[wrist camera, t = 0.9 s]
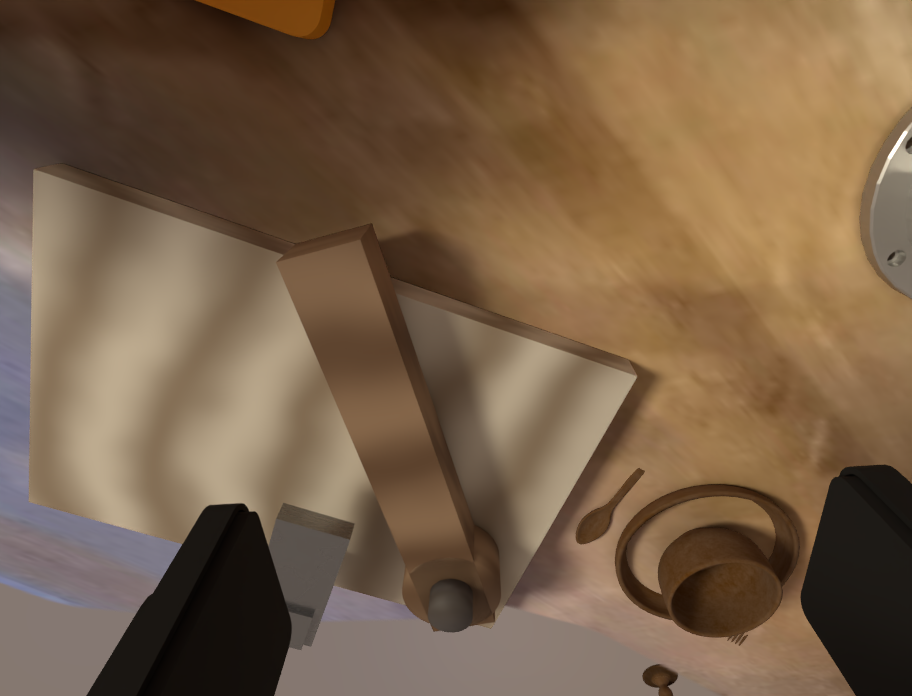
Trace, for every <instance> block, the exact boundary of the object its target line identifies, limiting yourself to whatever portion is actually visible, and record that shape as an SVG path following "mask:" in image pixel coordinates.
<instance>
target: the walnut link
mask: <svg viewBox="0 0 912 696" xmlns="http://www.w3.org/2000/svg"><path fill="white" fill-rule="evenodd" d="M276 264H277V266H278V269H279V271H280V273H281V276H282V278H283V280H284V283H285V285H286V287H287V290H288V292H289V294H290V297H291V299H292V301H293V304H294V306H295V308H296V311H297V313H298V315H299V318H300V320H301V322H302V325H303V327H304V329H305V332H306V334H307V336H308V339H309V341H310V344H311V346H312V348H313V351H314V353H315V355H316V358H317V360H318V362H319V365H320V367H321V369H322V372H323V374H324V376H325V379H326V381H327V383H328V386H329V388H330V390H331V393H332V395H333V397H334V400H335V402H336V404H337V407H338V409H339V411H340V414H341V416H342V418H343V421H344V423H345V425H346V428H347V430H348V432H349V435H350V437H351V439H352V442H353V444H354V446H355V449H356V451H357V453H358V456H359V458H360V460H361V463H362V465H363V467H364V470H365V472H366V475H367V477H368V479H369V482H370V484H371V486H372V489H373V491H374V493H375V496H376V498H377V500H378V503H379V505H380V507H381V510H382V512H383V514H384V517H385V519H386V521H387V524H388V526H389V528H390V531H391V533H392V535H393V538H394V540H395V542H396V545H397V547H398V549H399V552H400V554H401V556H402V559H403V561H404V563H405V572H404V579H403V585H402V596H403V600H404V602H405V604H406V606H407V607H408V609H409V610H410V611H411V612H412V613H413V614H414V615H415V616H417V617H418V618H420V619H421V620H423V621H425V622H427V623H430V624H431V626H432V629H433V631H444V632H459V631H462V630H464V629H466V628H467V627H468V626H473V625H480V624H486V623H493V622H495V610H496V609H497V607H498V605H499V603H500V600H501V582H500V561H499V550H498V546H497V544H496V542H495V541H494V539H493V538H492V537H491V536H490V535H489V534H488V533H487V532H486V531H484V530H483V529H481V528H480V527H478V526H475V525H474V522H473V519H472V517H471V514H470V511H469V508H468V505H467V502H466V499H465V496H464V493H463V490H462V487H461V484H460V481H459V478H458V475H457V472H456V469H455V467H454V464H453V461H452V458H451V455H450V452H449V449H448V446H447V443H446V440H445V437H444V434H443V431H442V428H441V425H440V422H439V419H438V417H437V414H436V411H435V408H434V405H433V402H432V399H431V396H430V393H429V390H428V387H427V384H426V381H425V378H424V375H423V372H422V369H421V366H420V364H419V361H418V358H417V355H416V352H415V349H414V346H413V343H412V340H411V337H410V334H409V331H408V328H407V325H406V322H405V319H404V316H403V314H402V311H401V308H400V305H399V302H398V299H397V296H396V293H395V290H394V287H393V284H392V281H391V278H390V275H389V272H388V269H387V266H386V264H385V261H384V258H383V255H382V252H381V249H380V246H379V243H378V240H377V237H376V234H375V231H374V228H373V225H372V223H371V224H367V225H364V226H360V227H356V228H353V229H349V230H345V231H342V232H338V233H334V234H331V235H327V236H323V237H320V238H316V239H312V240H309V241H305V242H301V243H298V244H295V245H294V246H293V247H292V248H291V249H290V250H289V251H287V252H286V253H285V254H284V255H283V256H282V257H281V258H280V259H279V260H278V261H277V262H276Z"/></svg>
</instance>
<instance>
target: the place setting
mask: <svg viewBox="0 0 912 696" xmlns="http://www.w3.org/2000/svg"><path fill="white" fill-rule="evenodd" d="M644 472H645V471H644V470H642V469H640V468H638V469H637V470H636V471H635V472H634V473H633V474H632V475H631V476H630V477H629V478H628V480H627V481H626V482H625V483H624V485H623V486H622V487H621V489H620V490H619V491H618V492H617V494H616V495H615V496H614V497H613V498H612V499H611V501H610V502H609V503H608V504H606V505H605V506H603V507H601V508H598V509H595V510H593V511H591V512H590V513H589V514H587V515H586V516H585V517H584V518H583V519H582V520H581V522H580V523H579V525H578V527H577V531H576V541H577V542H578V543H579V544H586V543H589V542H591V541H593V540H595V539H597V538H598V537H600V536H601V535H602V534H603V533H604V532H605V531H606V529H607V528H608V525H609V523H610V517H611V512H612V510H613V509H614V507H615V506H616V505H617V503H618V502H619V501H620V500H621V499H622V497H623V496H624V495H625V494H626V493H627V492H628V491H629V490H630V488H631V487H632V486H633V485H634V484H635V483H636V482H637V481H638V479H639V478H640V477H641V476H642V475H643V474H644ZM712 496H729V497H739V498H744V499H749V500H752V501H753V502H755V503H757V504H758V505H759V506H761V507H762V508H763V509H764V510H765V511H766V512H767V514H768V515H769V516H770V518H771V520H772V522H773V524H774V527H775V533H776V540H775V546H774V550H773V553H772V555H771V557H770V559H769V560H767V558H766V557H765V555H764V554H763V552H762V551H761V550H760V549H759V548H758V546H757V545H756V544H755V543H754V542H752V541H751V540H750V539H749V538H747V537H746V536H744V535H742V534H740V533H738V532H736V531H732V530H729V529H724V528H698V529H693V530H690V531H688V532H686V533H684V534H683V535H681V536H680V537H679V538H678V539H676V540H675V541H674V542H672V543H671V544H670V545H669V546H668V548H667V549H666V550H665V552H664V553H663V555H662V557H661V559H660V562H659V567H658V580H659V585H660V589H661V592H662V595H661V594H659V593H656V592H654V591H652V590H650V589H648V588H647V587H645V586H644V585H643V584H641V583H640V582H639V581H638V580H637V579H636V578H635V577H634V575H633V574H632V572H631V570H630V568H629V566H628V562H627V557H626V550H627V544H628V542H629V540H630V539H631V537H632V536H633V535H634V533H635V532H636V531H637V530H638V529H639V528H640V527H641V526H642V525H643V524H644V523H645V522H646V521H648V520H649V519H651V518H652V517H653V516H655V515H656V514H658V513H660V512H662V511H663V510H665V509H667V508H670V507H672V506H674V505H676V504H679V503H683V502H686V501H689V500H693V499H698V498H704V497H712ZM799 549H800V545H799V537H798V534H797V530H796V529H795V527H794V525H793V523H792V521H791V520H790V519H789V518H788V516H787V515H786V514H785V512H784V511H783V510H782V509H781V508H779V507H778V506H777V505H776V504H775V503H774V502H772V501H771V500H769V499H768V498H766V497H764V496H762V495H760V494H758V493H756V492H754V491H751V490H748V489H744V488H741V487H736V486H730V485H700V486H693V487H689V488H684V489H681V490H678V491H675V492H672V493H669V494H667V495H665V496H662V497H660V498H659V499H657V500H655V501H653V502H652V503H650V504H649V505H647V506H646V507H645V508H643V509H642V510H641V511H640V512H639V513H638V514H636V515H635V516H634V517H633V519H632V520H631V521H630V522H629V523H628V525H627V526H626V528H625V529H624V531H623V532H622V535H621V537H620V539H619V541H618V545H617V548H616V554H615V567H616V574H617V577H618V581H619V584H620V586H621V588H622V590H623V591H624V593H625V594H626V596H627V597H628V598H629V599H630V600H631V601H632V602H633V603H634V604H636V605H637V606H638V607H640V608H641V609H643V610H645V611H647V612H648V613H651V614H653V615H656V616H658V617H661V618H665V619H669V620H673V621H674V622H675V623H676V624H677V625H678V626H679V627H681V628H682V629H684V630H685V631H687V632H690V633H692V634H696V635H699V636H704V637H729V638H728V640H729V639H730V638H731V637H732V636H734V635H735V636H734V638H733V639H732V641H731V642H733V641H734V639H735V638H736V637H737V636H738V634H741V635H740V636H739V637H738V639H737V641H736V642H735V644H736V643H737V642H738V641H739V640H740V638H741V637H742V636H743V634H744V633H745V632H747V631H750V630H752V629H754V628H756V627H758V626H760V625H761V624H763V623H764V622H765V621H767V620H768V619H769V618H770V617H771V616H772V615H773V614H774V612H775V611H776V610H777V608H778V607H779V605H780V602H781V599H782V594H783V590H782V586H783V585H784V584H785V583H786V581H787V580H788V579H789V577H790V576H791V574H792V573H793V570H794V568H795V566H796V564H797V560H798V557H799ZM747 636H748V635H746V636H744V637H743V639H742V640H741V642H740V644H739V646H740V645H741V644H742V642H743V641H744V640H745V639H746V637H747ZM728 640H727V641H728ZM642 677H643V681H644V682H645V683H646V684H647V685H648V686H651V687H655V688H659V696H673V693H672V691H671V690H670V689H669V687H668V686H670V685H672V684H673V683H674V682H675V681H676V680H677V678H678V673H677V672H674V671H672V670H671V669H669V668H667V667H665V666H663V665H661V664H656V665H652V666H650V667H648V668H647V669H646V670H645V671H644V672H643V675H642Z"/></svg>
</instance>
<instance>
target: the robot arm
mask: <svg viewBox="0 0 912 696" xmlns="http://www.w3.org/2000/svg"><path fill="white" fill-rule="evenodd" d="M859 220H860V233H861V241H862V244H863V247H864V250H865V253H866V256H867V259H868V261H869V262H870V264H871V265H872V267H873V268H874V270H875V271H876V273H877V275H878V276H879V277H881V278H882V279H883V280H884V281H885V282H886V283H887V284H888V285H889V286H890V287H892V288H893V289H895V290H897V291H899V292H900V293H902V294H904V295H906V296H908V297H909V298H911V299H912V107H911V108H910V109H909V110H908V111H907V112H906V114H905V115H904V116H903V117H902V118H901V119H900V121H899V122H898V124H897V125H896V126H895V128H894V129H893V130H892V132H891V133H890V135H889V136H888V137H887V139H886V140H885V142H884V143H883V145H882V147H881V149H880V151H879V153H878V155H877V157H876V159H875V161H874V163H873V165H872V167H871V169H870V172H869V175H868V178H867V181H866V184H865V187H864V190H863V193H862V201H861V208H860V216H859ZM801 605H802V609H803V611H804V614H805V616H806V618H807V620H808V621H809V623H810V624H811V626H812V628H813V629H814V631H815V632H816V634H817V635H818V637H819V639H820V640H821V642H822V643H823V645H824V646H825V648H826V650H827V651H828V653H829V654H830V656H831V657H832V659H833V660H834V662H835V664H836V665H837V667H838V668H839V670H840V671H841V673H842V675H843V676H844V678H845V679H846V681H847V682H848V684H849V686H850V687H851V689H852V690H853V692H854V693H855V695H856V696H912V484H911V483H910V482H909V481H908V480H907V479H906V478H905V477H904V476H903V475H902V474H900V473H899V472H898V471H897V470H896V469H894V468H893V467H891V466H888V465H870V466H854V467H846V468H844V469H843V470H842V471H841V473H840V475H839V477H835V478H833V479H832V481H831V483H830V486H829V490H828V493H827V497H826V501H825V505H824V508H823V512H822V516H821V520H820V523H819V527H818V531H817V535H816V539H815V542H814V546H813V550H812V554H811V557H810V561H809V565H808V569H807V572H806V576H805V580H804V584H803V587H802V591H801ZM291 634H292V622H291V618H290V615H289V611H288V608H287V605H286V602H285V598H284V595H283V592H282V589H281V586H280V582H279V579H278V576H277V573H276V569H275V566H274V563H273V560H272V556H271V553H270V550H269V547H268V544H267V540H266V537H265V534H264V531H263V527H262V524H261V521H260V518H259V515H258V513H257V512H255V511H249V509H248V507H247V506H246V505H245V504H244V503H234V504H217V505H209V506H207V507H205V509H204V510H203V511H202V513H201V514H200V516H199V518H198V519H197V521H196V523H195V524H194V526H193V528H192V529H191V531H190V533H189V534H188V536H187V538H186V539H185V541H184V543H183V544H182V546H181V548H180V549H179V551H178V553H177V554H176V556H175V558H174V559H173V561H172V563H171V564H170V566H169V568H168V569H167V571H166V573H165V574H164V576H163V578H162V579H161V581H160V583H159V584H158V586H157V588H156V589H155V591H154V593H153V594H151V595H150V596H149V597H148V598H147V599H146V600H145V601H144V603H143V604H142V605H141V607H140V608H139V610H138V612H137V613H136V615H135V617H134V618H133V620H132V622H131V623H130V625H129V627H128V628H127V630H126V632H125V633H124V635H123V637H122V638H121V640H120V641H119V643H118V645H117V646H116V648H115V650H114V651H113V653H112V655H111V656H110V658H109V660H108V661H107V663H106V664H105V666H104V668H103V669H102V671H101V673H100V674H99V676H98V678H97V679H96V681H95V683H94V684H93V686H92V688H91V689H90V691H89V692H88V694H87V696H274V694H275V691H276V688H277V684H278V681H279V677H280V675H281V671H282V668H283V665H284V661H285V658H286V655H287V651H288V648H289V645H290V641H291Z"/></svg>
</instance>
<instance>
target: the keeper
mask: <svg viewBox="0 0 912 696" xmlns="http://www.w3.org/2000/svg"><path fill="white" fill-rule="evenodd" d="M354 524H355V523H352V522H348V521H345V520H341V519H338V518H334V517H331V516H327V515H324V514H320V513H317V512H314V511H310V510H307V509H303V508H300V507H296V506H293V505H289V504H286V503H283V505H282V507H281V509H280V511H279V513H278V516H277V518H276V521H275V525H274V528H273V532H272V535H271V539H270V542H269V546H268V547H269V550H270V553H271V556H272V560H273V563H274V566H275V569H276V573H277V576H278V579H279V582H280V586H281V589H282V592H283V595H284V598H285V602H286V605H287V608H288V611H289V615H290V618H291V622H292V634H291V641H290V645H289V647H291V648H295V649H299V650H301V649H302V646H303V644H304V645H307V646H311V645H312V642H313V640H314V637H315V634H316V632H317V629H318V626H319V624H320V621H321V618H322V615H323V613H324V610H325V607H326V605H327V602H328V599H329V596H330V594H331V591H332V588H333V585H334V583H335V580H336V577H337V575H338V572H339V569H340V566H341V564H342V561H343V558H344V556H345V553H346V550H347V547H348V545H349V542H350V539H351V535H352V532H353V528H354Z"/></svg>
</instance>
